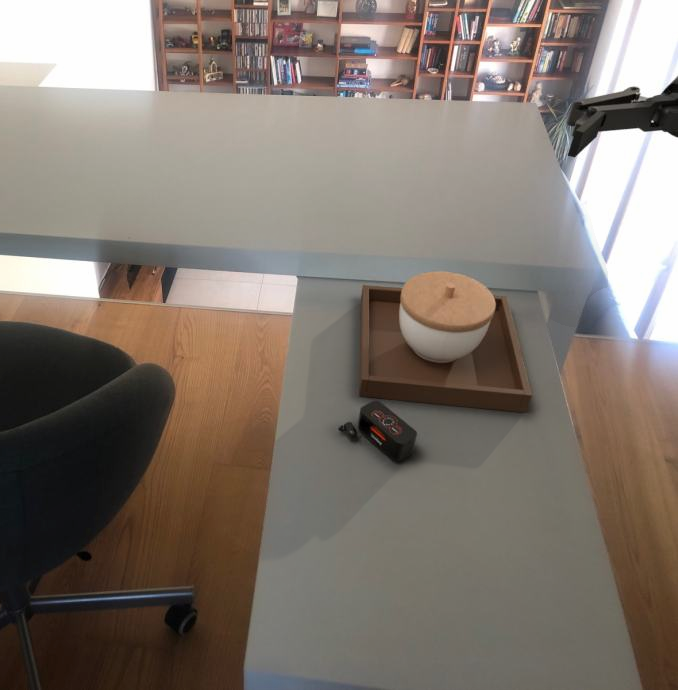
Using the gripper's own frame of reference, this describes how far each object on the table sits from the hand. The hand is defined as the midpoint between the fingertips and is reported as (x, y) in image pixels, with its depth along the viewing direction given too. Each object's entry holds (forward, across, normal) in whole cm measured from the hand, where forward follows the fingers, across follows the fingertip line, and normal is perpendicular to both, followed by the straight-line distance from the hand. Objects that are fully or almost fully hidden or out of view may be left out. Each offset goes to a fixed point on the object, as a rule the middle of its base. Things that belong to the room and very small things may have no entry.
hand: (646, 163), depth 67 cm
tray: (+8, +13, -26) cm, 30 cm away
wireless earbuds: (+25, +11, -27) cm, 38 cm away
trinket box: (+8, +13, -26) cm, 30 cm away
